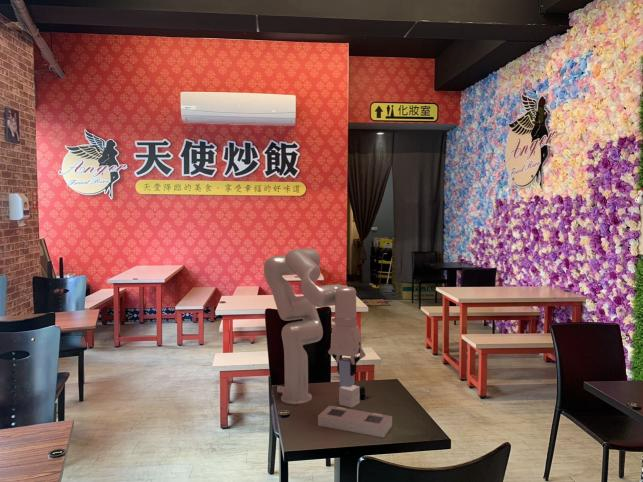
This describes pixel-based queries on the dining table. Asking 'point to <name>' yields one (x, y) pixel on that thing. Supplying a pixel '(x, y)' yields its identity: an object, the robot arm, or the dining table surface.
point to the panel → (355, 421)
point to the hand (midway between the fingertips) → (346, 373)
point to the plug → (345, 372)
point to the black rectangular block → (363, 393)
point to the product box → (349, 396)
